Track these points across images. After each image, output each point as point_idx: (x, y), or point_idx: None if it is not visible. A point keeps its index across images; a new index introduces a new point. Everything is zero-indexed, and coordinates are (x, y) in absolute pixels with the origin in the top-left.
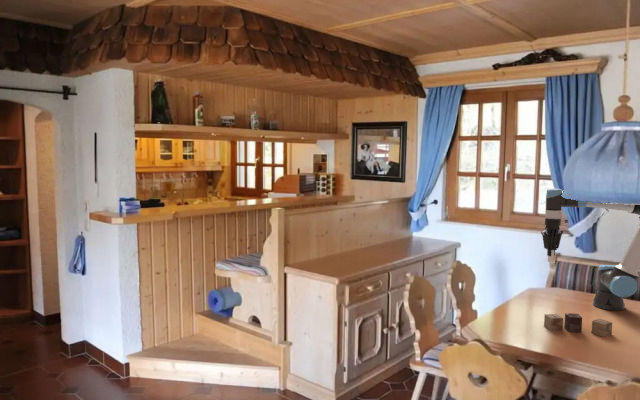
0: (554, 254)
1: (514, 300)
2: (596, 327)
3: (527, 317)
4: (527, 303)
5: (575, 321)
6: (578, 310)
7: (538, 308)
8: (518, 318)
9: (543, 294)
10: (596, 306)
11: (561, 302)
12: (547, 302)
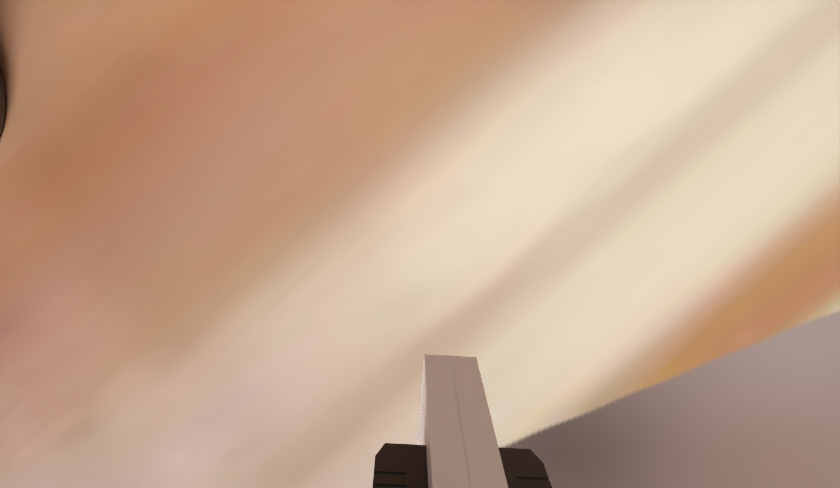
0: (385, 461)
1: None
2: None
3: (697, 144)
4: None
5: None
6: (211, 108)
7: (459, 259)
8: (771, 154)
9: (169, 473)
10: (3, 108)
11: (186, 295)
12: (287, 333)
